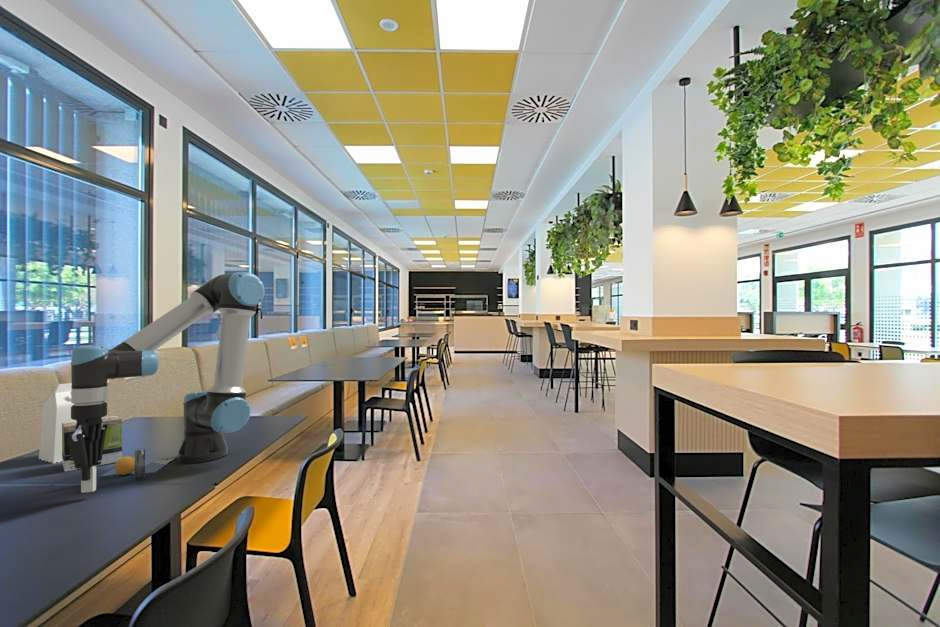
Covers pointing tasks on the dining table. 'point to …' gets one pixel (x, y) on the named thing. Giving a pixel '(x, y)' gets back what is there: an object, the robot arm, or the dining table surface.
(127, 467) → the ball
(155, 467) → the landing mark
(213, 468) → the dining table surface
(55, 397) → the milk
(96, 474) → the outer post
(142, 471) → the inner post
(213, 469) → the dining table surface
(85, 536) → the dining table surface
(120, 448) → the tea box
